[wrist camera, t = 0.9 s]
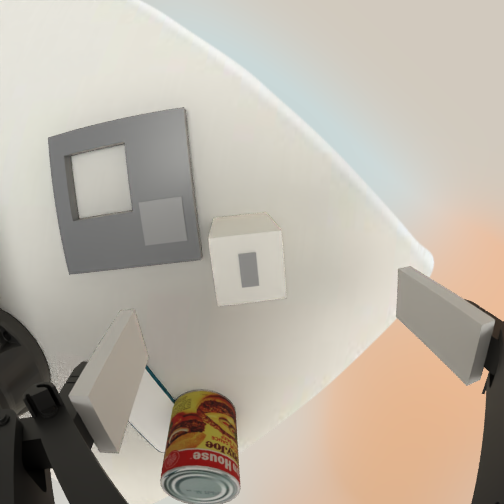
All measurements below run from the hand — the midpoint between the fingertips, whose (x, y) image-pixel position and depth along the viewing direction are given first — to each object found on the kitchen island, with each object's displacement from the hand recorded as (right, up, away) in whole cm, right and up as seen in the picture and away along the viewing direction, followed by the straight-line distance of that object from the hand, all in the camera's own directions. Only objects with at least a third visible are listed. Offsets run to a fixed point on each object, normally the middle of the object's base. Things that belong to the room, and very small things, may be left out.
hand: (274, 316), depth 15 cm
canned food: (-7, -17, +22) cm, 28 cm away
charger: (-2, +4, +16) cm, 17 cm away
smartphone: (-14, -17, +21) cm, 30 cm away
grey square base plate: (-13, +9, +14) cm, 21 cm away
